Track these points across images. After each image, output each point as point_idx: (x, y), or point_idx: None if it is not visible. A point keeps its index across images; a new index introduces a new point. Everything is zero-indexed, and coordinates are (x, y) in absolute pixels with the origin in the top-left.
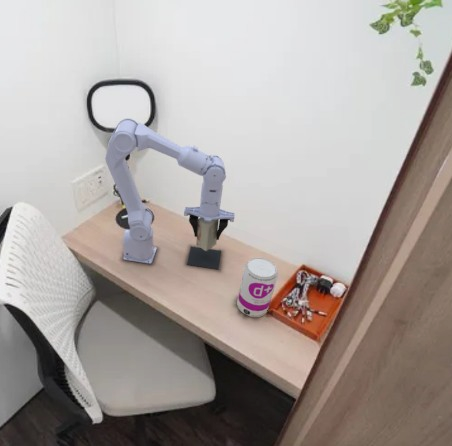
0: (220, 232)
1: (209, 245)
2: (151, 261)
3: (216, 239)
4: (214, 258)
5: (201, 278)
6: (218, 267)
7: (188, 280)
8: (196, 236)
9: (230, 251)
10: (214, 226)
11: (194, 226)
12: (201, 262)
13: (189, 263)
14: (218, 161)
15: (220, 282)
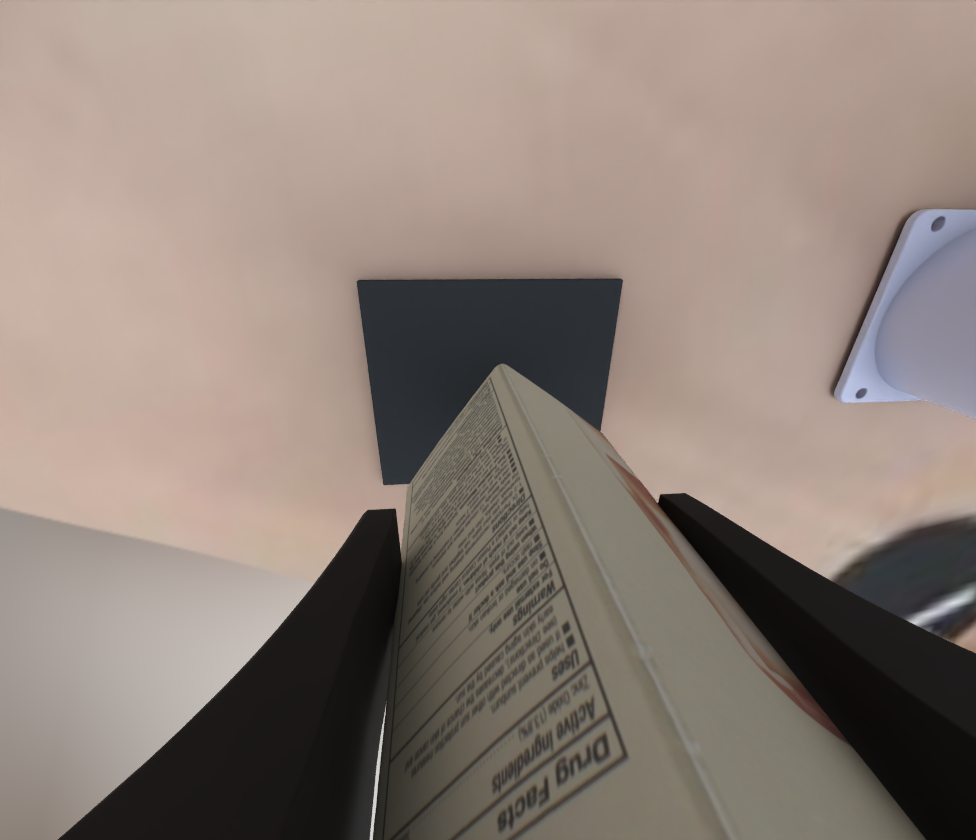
0: (290, 640)
1: (472, 424)
2: (915, 231)
3: (392, 511)
4: (415, 397)
5: (487, 121)
6: (364, 301)
7: (604, 57)
8: (669, 497)
9: (319, 497)
10: (443, 777)
11: (919, 658)
12: (508, 327)
13: (602, 292)
14: None
15: (304, 103)
